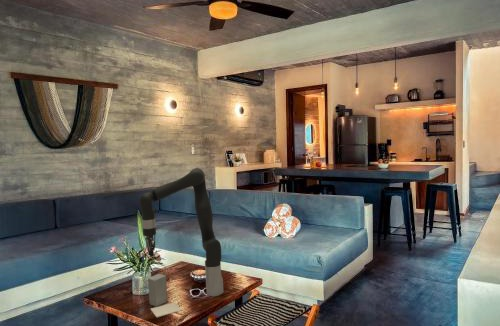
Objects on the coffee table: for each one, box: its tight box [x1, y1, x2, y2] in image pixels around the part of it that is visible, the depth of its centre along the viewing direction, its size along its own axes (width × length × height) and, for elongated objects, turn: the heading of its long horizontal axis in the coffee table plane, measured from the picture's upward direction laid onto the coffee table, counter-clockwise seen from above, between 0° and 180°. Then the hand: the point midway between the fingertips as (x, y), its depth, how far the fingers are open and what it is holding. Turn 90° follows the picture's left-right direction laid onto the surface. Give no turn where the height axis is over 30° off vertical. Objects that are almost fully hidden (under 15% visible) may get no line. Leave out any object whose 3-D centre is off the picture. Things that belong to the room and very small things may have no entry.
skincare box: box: [147, 273, 168, 308], centre depth 216 cm, size 8×7×16 cm
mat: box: [150, 302, 183, 318], centre depth 208 cm, size 14×12×1 cm
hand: (151, 255), depth 224 cm, fingers open, 3 cm apart
